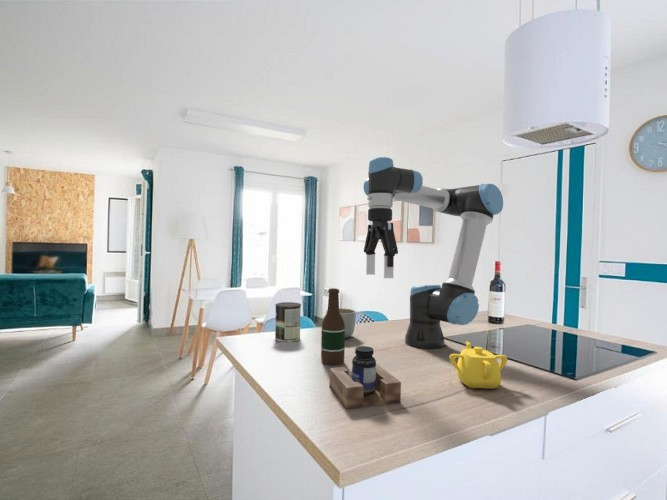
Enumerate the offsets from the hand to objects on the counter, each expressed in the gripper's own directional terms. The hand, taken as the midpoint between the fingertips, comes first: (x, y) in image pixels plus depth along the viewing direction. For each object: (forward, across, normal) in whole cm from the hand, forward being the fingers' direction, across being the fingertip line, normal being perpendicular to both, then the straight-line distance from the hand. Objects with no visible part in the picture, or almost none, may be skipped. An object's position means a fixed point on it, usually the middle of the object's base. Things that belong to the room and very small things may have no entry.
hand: (379, 276), depth 114 cm
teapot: (+29, +19, +22) cm, 41 cm away
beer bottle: (+29, -9, -12) cm, 33 cm away
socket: (+29, +18, -12) cm, 36 cm away
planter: (+29, -40, +1) cm, 49 cm away
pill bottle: (+28, +18, -12) cm, 35 cm away
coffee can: (+29, -42, -21) cm, 55 cm away
